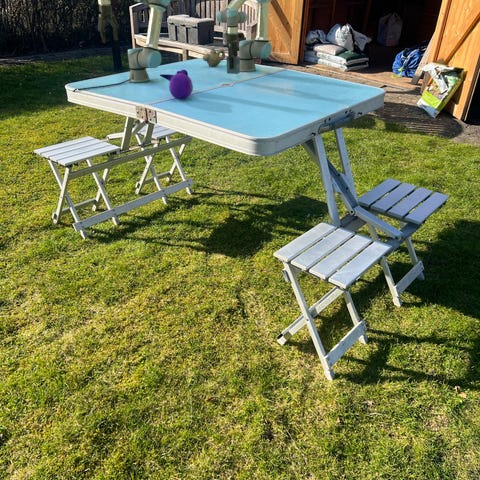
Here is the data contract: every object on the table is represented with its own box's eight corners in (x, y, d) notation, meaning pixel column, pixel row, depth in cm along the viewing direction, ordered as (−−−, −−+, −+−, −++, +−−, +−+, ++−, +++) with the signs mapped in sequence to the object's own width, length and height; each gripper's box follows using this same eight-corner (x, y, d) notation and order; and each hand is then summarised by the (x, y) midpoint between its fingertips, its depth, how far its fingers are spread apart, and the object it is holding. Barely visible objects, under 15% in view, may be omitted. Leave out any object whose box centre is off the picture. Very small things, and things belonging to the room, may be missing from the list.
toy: (183, 91, 304) (192, 105, 283) (157, 86, 297) (165, 100, 276) (187, 67, 296) (198, 79, 275) (161, 62, 289) (170, 74, 268)
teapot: (206, 68, 381) (205, 49, 373) (200, 66, 390) (199, 47, 382) (228, 65, 390) (227, 47, 383) (221, 64, 399) (221, 45, 391)
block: (237, 73, 327) (236, 57, 322) (227, 73, 330) (226, 56, 324) (239, 72, 333) (239, 56, 327) (230, 71, 335) (229, 55, 329)
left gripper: (98, 6, 272) (104, 43, 283) (121, 3, 292) (125, 39, 303) (87, 6, 274) (94, 43, 285) (111, 3, 294) (116, 38, 305)
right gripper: (232, 35, 309) (233, 70, 320) (242, 32, 325) (242, 66, 336) (222, 35, 311) (223, 70, 322) (232, 32, 327) (232, 65, 338)
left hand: (110, 41), depth 294 cm, fingers open, 13 cm apart
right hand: (233, 68), depth 329 cm, fingers closed on block, 6 cm apart
